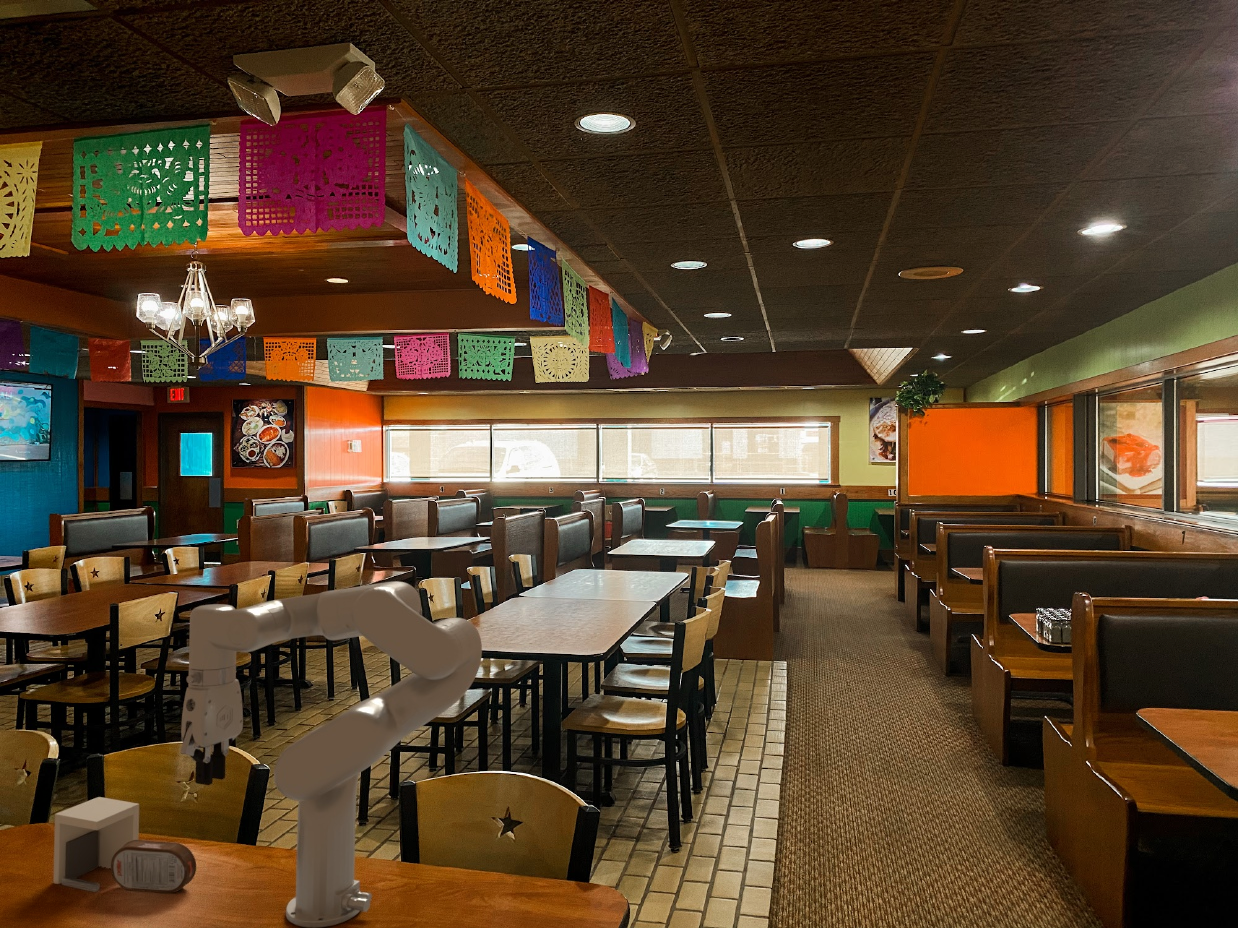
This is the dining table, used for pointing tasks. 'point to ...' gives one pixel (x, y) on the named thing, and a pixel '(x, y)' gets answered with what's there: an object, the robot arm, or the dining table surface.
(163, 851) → the tin
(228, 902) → the dining table surface
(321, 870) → the robot arm
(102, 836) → the white u-channel
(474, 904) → the dining table surface
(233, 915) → the dining table surface
